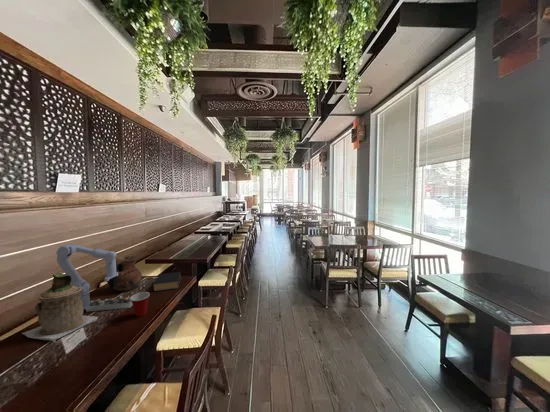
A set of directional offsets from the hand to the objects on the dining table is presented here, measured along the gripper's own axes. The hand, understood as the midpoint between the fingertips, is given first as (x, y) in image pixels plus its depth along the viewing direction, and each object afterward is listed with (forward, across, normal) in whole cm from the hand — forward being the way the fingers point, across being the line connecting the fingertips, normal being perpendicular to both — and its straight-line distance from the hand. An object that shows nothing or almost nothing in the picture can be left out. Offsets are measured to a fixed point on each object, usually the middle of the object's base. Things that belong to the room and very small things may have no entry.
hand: (112, 288), depth 167 cm
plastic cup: (+11, -23, -26) cm, 36 cm away
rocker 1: (+6, -8, +6) cm, 12 cm away
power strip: (+10, -7, -2) cm, 13 cm away
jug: (+11, +28, +2) cm, 30 cm away
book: (+11, +28, -29) cm, 42 cm away
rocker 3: (+6, -8, -10) cm, 15 cm away
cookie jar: (+11, -30, +13) cm, 34 cm away
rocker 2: (+6, -8, -2) cm, 10 cm away
